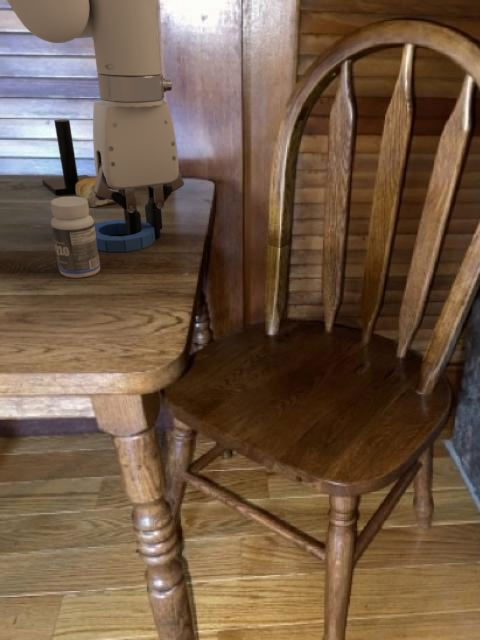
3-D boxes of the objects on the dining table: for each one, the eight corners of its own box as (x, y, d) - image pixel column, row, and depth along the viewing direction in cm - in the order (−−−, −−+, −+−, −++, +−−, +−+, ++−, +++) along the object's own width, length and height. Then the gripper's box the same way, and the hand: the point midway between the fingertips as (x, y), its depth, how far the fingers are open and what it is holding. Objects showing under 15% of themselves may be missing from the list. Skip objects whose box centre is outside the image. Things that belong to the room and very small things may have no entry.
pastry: (67, 195, 96) (63, 172, 94) (105, 190, 100) (103, 168, 98) (87, 208, 90) (84, 184, 88) (127, 203, 93) (125, 179, 91)
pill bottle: (53, 269, 68) (39, 198, 64) (90, 261, 71) (80, 192, 67) (69, 282, 65) (56, 208, 61) (107, 272, 68) (98, 202, 64)
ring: (101, 256, 73) (99, 244, 72) (79, 236, 79) (77, 225, 78) (165, 245, 77) (164, 233, 76) (139, 227, 83) (138, 216, 82)
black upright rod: (55, 195, 96) (43, 125, 90) (42, 185, 101) (30, 118, 96) (102, 190, 100) (93, 122, 94) (87, 180, 105) (78, 115, 100)
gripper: (177, 86, 76) (184, 221, 86) (56, 89, 68) (79, 238, 78) (203, 92, 71) (208, 235, 81) (75, 96, 63) (98, 255, 73)
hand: (145, 235), depth 79 cm, fingers closed on ring, 2 cm apart
